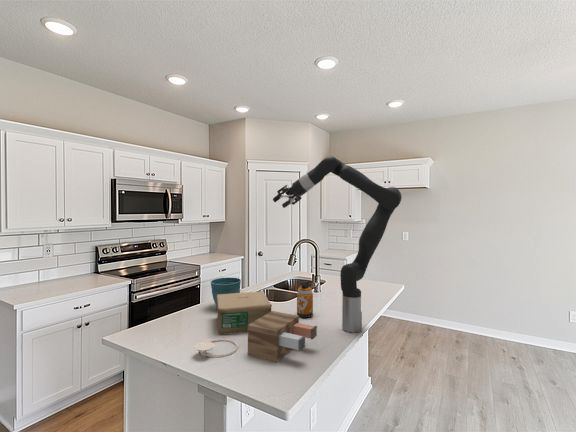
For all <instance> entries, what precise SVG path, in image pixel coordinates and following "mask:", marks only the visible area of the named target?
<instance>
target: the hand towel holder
mask: <svg viewBox="0 0 576 432" xmlns="http://www.w3.org/2000/svg"><path fill="white" fill-rule="evenodd" d="M214 342H229V343H232V344H234V345H235V349H233V350H231V351H229V352H226V353H222V354H209V353H207V352H208V351H210V350H213V348H215V346H216V344H215V343H214ZM194 349H195V350H196V351H198V352H199V354H200V355H201V356H202V357H203V356H208V357H207V358H212V357H216V358H225V357H228V356H230V355H232V354H234V353H235V352H237V351H238V349H239V344H238V342H237V341H235V340H233V339H230V338H214V339H213V338H212V339H209V340H206V341H201V342H199V343H196V344H195V346H194Z"/></svg>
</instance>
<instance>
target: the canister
mask: <svg viewBox="0 0 576 432" xmlns="http://www.w3.org/2000/svg"><path fill="white" fill-rule="evenodd" d="M313 312H314V293H313V289H312V282H311V281H310V280H309V279H308V280H307V279H304V280H303V281H301V282H300V284H299V287H298V289H297V293H296V315H297V316H299V318H301V319H302V318H306V319H308V318H310V317H312V316H314V313H313Z"/></svg>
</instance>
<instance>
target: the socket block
mask: <svg viewBox="0 0 576 432" xmlns="http://www.w3.org/2000/svg"><path fill="white" fill-rule="evenodd" d="M294 323H300V316H298V315H297V314H291V313H285V312H280V311H275V310H271V312H269V313H268V314H266V315H264V316H262V317H261V318H259V319H257V320H256V321H254V322H252V323H250V324H249V325H248V332H247V355H248V356H252V357H255V358H260V359H262V360H263V359H264V360H267V361H269V362H275V363H278V362H279V361H280V360H281V359H282V358H283V357H284V356H286V355H287V354H288V353H289V352H290V351H292V348H288V347H283V346H279V334H281V333H282V332H285V333H290V334H292V325H293V324H294Z"/></svg>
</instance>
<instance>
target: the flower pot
mask: <svg viewBox="0 0 576 432" xmlns="http://www.w3.org/2000/svg"><path fill="white" fill-rule="evenodd" d="M241 282H242V279H241V278H238V277H233V276H232V277H231V276H230V277H219V278H214V279H211V281H210V288H211V295H212V298H213V299H212V300H213V301H214V305H215V308H216V310H217V294H232V293H241Z"/></svg>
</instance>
